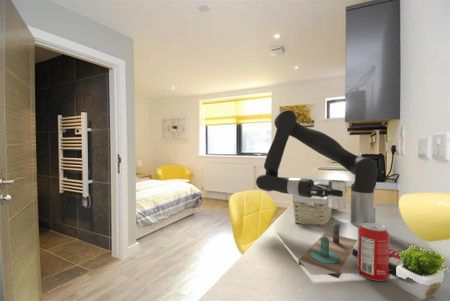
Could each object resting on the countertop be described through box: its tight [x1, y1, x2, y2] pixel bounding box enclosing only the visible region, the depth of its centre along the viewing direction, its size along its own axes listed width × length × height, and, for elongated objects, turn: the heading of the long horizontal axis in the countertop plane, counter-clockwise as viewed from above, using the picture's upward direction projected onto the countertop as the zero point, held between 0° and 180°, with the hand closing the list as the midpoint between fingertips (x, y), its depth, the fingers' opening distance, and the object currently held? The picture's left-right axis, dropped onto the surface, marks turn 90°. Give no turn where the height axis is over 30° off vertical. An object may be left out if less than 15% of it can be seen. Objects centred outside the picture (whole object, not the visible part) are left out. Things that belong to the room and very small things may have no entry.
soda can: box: [357, 222, 391, 282], centre depth 67 cm, size 8×8×15 cm
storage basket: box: [291, 193, 333, 226], centre depth 118 cm, size 24×16×15 cm
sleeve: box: [328, 179, 347, 210], centre depth 87 cm, size 6×6×10 cm
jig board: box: [298, 222, 358, 279], centre depth 81 cm, size 30×12×8 cm, turn 140°
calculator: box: [351, 246, 402, 277], centre depth 75 cm, size 11×4×15 cm
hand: (344, 192), depth 85 cm, fingers closed on sleeve, 5 cm apart
